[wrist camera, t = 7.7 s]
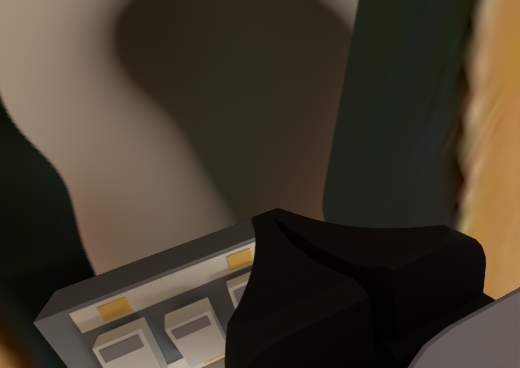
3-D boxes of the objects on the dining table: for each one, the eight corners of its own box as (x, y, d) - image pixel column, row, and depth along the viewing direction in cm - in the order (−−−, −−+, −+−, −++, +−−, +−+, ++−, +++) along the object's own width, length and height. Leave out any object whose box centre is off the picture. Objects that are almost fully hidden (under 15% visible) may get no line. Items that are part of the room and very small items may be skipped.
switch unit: (297, 294, 25) (312, 318, 22) (115, 376, 22) (104, 417, 19) (277, 209, 22) (291, 224, 19) (55, 290, 18) (31, 325, 15)
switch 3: (281, 322, 20) (286, 332, 19) (246, 338, 19) (249, 350, 18) (263, 266, 19) (267, 273, 18) (226, 281, 19) (228, 289, 17)
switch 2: (226, 336, 20) (229, 351, 19) (189, 353, 19) (191, 369, 18) (207, 297, 17) (210, 311, 16) (164, 314, 17) (164, 331, 16)
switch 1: (170, 371, 18) (169, 386, 17) (129, 390, 18) (125, 407, 17) (144, 316, 17) (140, 329, 16) (98, 335, 17) (91, 350, 15)
